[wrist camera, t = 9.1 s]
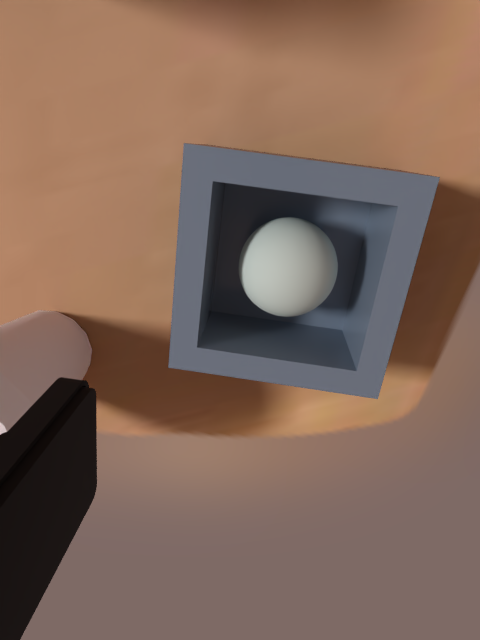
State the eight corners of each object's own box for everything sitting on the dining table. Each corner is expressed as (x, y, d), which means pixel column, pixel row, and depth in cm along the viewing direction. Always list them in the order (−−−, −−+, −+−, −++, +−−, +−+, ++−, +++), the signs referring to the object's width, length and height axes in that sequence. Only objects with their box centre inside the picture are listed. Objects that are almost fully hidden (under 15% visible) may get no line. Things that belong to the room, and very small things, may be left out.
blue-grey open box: (205, 144, 28) (183, 143, 22) (402, 170, 28) (439, 177, 21) (190, 324, 33) (168, 367, 26) (357, 348, 32) (377, 398, 26)
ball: (248, 204, 28) (240, 219, 23) (340, 217, 28) (354, 235, 23) (237, 291, 31) (227, 323, 25) (322, 304, 31) (331, 339, 25)
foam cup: (-2, 276, 33) (-167, 350, 21) (118, 308, 33) (24, 400, 21) (-7, 383, 36) (-149, 500, 24) (102, 411, 36) (14, 542, 24)
